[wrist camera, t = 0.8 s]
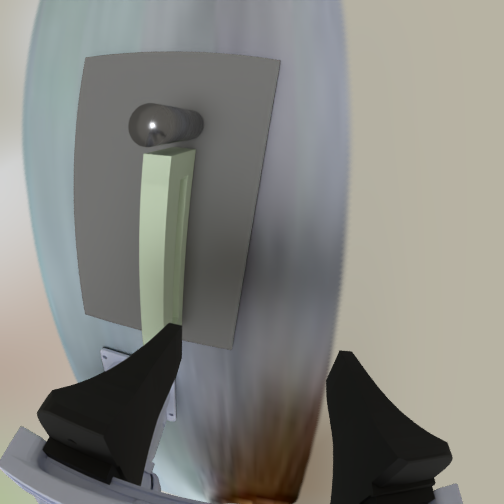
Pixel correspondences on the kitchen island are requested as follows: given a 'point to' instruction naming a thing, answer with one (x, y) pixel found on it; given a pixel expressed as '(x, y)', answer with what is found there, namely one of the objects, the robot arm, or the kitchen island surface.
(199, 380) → the kitchen island surface
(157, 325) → the pale green slotted bar
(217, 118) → the mat
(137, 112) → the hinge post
